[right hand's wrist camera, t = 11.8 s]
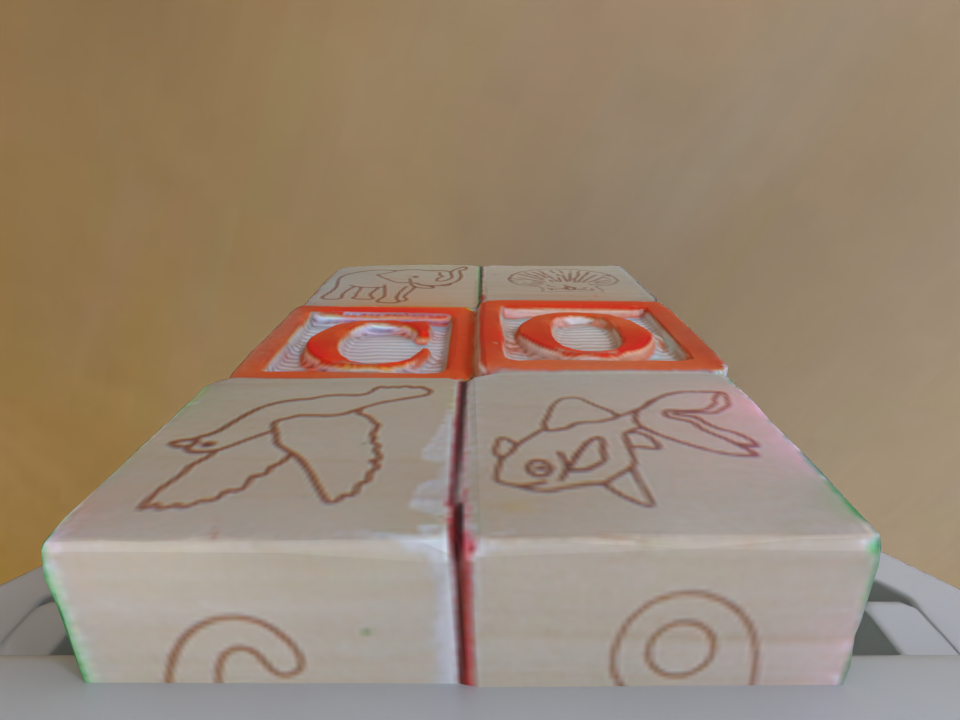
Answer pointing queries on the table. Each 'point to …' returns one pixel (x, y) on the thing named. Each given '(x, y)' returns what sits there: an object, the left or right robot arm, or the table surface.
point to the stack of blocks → (468, 505)
